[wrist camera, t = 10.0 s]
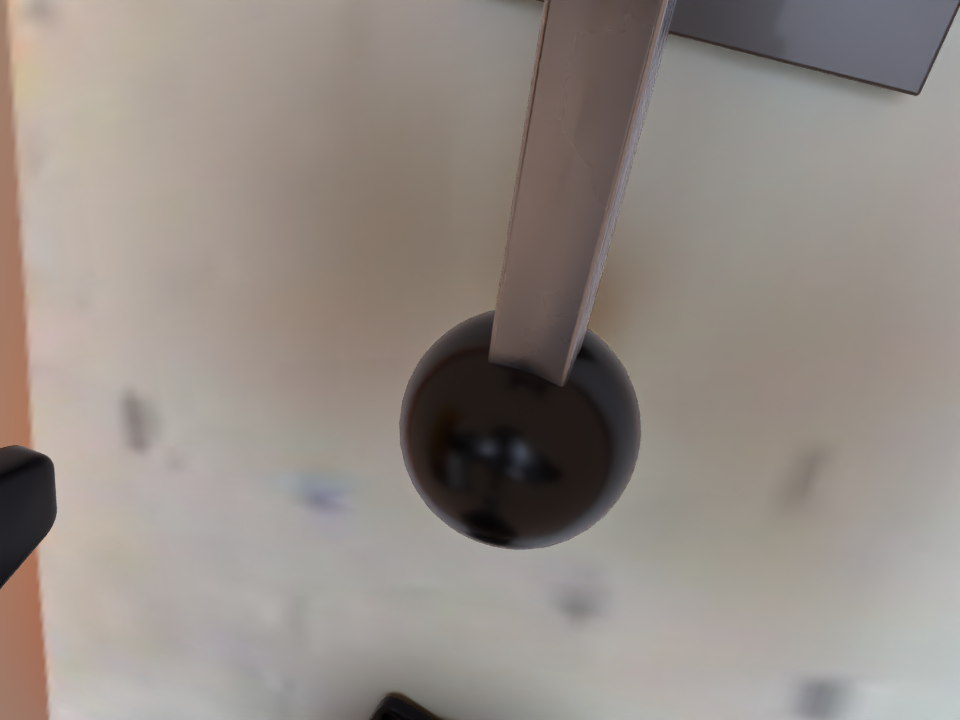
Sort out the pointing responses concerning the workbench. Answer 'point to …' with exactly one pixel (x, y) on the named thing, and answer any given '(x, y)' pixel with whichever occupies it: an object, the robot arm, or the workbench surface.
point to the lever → (546, 305)
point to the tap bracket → (828, 34)
